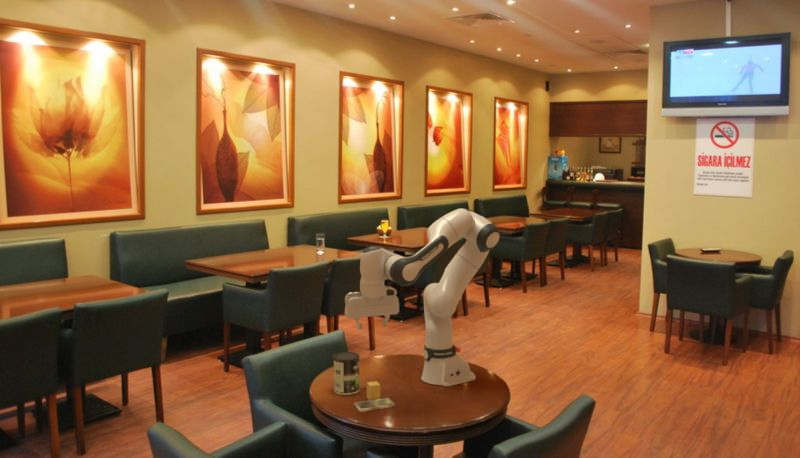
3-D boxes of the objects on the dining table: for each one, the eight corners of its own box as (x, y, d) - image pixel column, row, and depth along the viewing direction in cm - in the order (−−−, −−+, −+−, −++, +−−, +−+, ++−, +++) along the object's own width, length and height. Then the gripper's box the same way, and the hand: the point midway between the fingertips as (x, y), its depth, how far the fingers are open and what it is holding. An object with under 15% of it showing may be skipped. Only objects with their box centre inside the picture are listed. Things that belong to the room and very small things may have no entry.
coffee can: (362, 386, 261) (362, 352, 259) (355, 396, 251) (355, 360, 249) (337, 384, 263) (337, 350, 261) (330, 394, 253) (329, 359, 251)
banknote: (388, 399, 247) (388, 396, 247) (395, 406, 241) (395, 403, 241) (353, 405, 242) (353, 402, 242) (359, 412, 236) (359, 409, 236)
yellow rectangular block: (376, 396, 251) (376, 381, 250) (380, 400, 247) (380, 384, 246) (366, 397, 249) (366, 382, 249) (370, 401, 246) (370, 386, 245)
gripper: (347, 294, 231) (347, 332, 233) (401, 290, 238) (400, 327, 240) (342, 291, 237) (342, 328, 239) (394, 286, 244) (394, 322, 246)
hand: (372, 327), depth 240 cm, fingers open, 8 cm apart
